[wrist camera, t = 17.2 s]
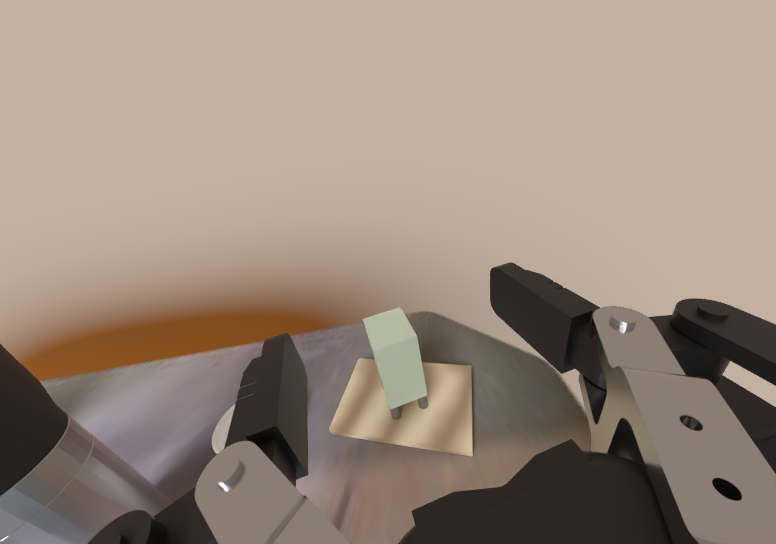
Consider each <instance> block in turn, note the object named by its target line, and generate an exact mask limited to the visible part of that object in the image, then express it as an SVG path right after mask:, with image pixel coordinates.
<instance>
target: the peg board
mask: <svg viewBox="0 0 776 544" xmlns="http://www.w3.org/2000/svg"><path fill="white" fill-rule="evenodd" d="M422 367H423V372H424V378H425V384H426V390H427V396H424V397H422V398H419V399H416V400H414V401H411V402H409V403H406V404H403V405H401V406H398V407H396V408H393V409H390V407H389V404H388V401H387V398H386V395H385V392H384V388H383V385H382V382H381V379H380V376H379V373H378V369H377V366H376V362H375V359H362V358H359V359H358V362H357V364H356V366H355V369H354V371H353V373H352V376H351V378H350V380H349V383H348V385H347V387H346V390H345V392H344V394H343V397H342V399H341V402H340V404H339V406H338V409H337V411H336V413H335V416H334V418H333V420H332V423H331V425H330V427H329V430H330V432H331V434H334V435H340V436H346V437H352V438H359V439H365V440H371V441H377V442H384V443H390V444H396V445H402V446H409V447H415V448H421V449H427V450H433V451H440V452H446V453H452V454H458V455H465V456H471V457H473V440H472V371H471V366H470V365H454V364H439V363H423V362H422Z"/></svg>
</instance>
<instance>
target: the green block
mask: <svg viewBox="0 0 776 544" xmlns="http://www.w3.org/2000/svg"><path fill="white" fill-rule="evenodd" d="M363 321H364V324H365V328H366V331H367V335H368V338H369V342H370V345H371V349H372V352H373V355H374V359H375V362H376V366H377V369H378V373H379V376H380V379H381V382H382V385H383V388H384V392H385V395H386V398H387V401H388V404H389V407H390V409H393V408H396V407H398V406H401V405H403V404H406V403H409V402H411V401H414V400H416V399H419V398H422V397H424V396H427V390H426V384H425V378H424V372H423V367H422V361H421V355H420V350H419V344H418V338H417V335H416V333H415V332H414V330H413V328H412V326H411V325H410V323H409V321H408V319H407V318H406V316H405V314H404V312H403V311H402V309H401V308H400V307H399V308H396V309H393V310H390V311H386V312H383V313H380V314H377V315H374V316H372V317H368V318H365V319H363Z"/></svg>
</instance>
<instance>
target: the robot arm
mask: <svg viewBox="0 0 776 544" xmlns="http://www.w3.org/2000/svg"><path fill="white" fill-rule="evenodd" d="M490 301H491V306H492V308H493V310H494V311H495V313H496V314H497V315H498V316H499V317H500V318H501V319H502V320H503V321H504V322H505V323H506V324H508V325H509V326H510V327H511V328H512V329H513V330H514V331H515V332H516V333H517V334H519V335H520V336H521V337H522V338H523V339H524V340H525V341H526V342H527V343H529V344H530V345H531V346H532V347H533V348H534V349H535V350H536V351H537V352H538V353H539V354H540V355H542V356H543V357H544V358H545V359H546V360H547V361H548V362H549V363H550V364H551V365H553V366H554V367H555V368H556V369H557V370H558V371H559V372H560V373H561V374H563V373H565V372H567V371H570V370H573V369H576V370H578V371H579V372H580V375H579V383H580V387H581V392H582V396H583V400H584V405H585V409H586V413H587V418H588V422H589V426H590V431H591V452H587V451H582V450H581V449H580V448H579V447H578V446H577V445H576V443H575V442H574V441H573V440H572V439H571V440H568V441H566V442H564V443H562V444H560V445H557V446H555V447H553V448H551V449H548V450H546V451H544V452H542V453H540V454H537V455H535V456H534V457H533V458H532V459H531V460H530V461H529V462H528V463H527V464H526V465H525V466H524V467H523V468H522V469H521V470H520V471H519V472H518V473H517V474H516V475H515V476H514V477H513V478H512V479H511V480H510V481H509V482H508V483H507V484H505V485H504V486H502V487H497V488H487V489H478V490H468V491H459V492H453V493H451V494H448V495H446V496H444V497H442V498H439V499H437V500H435V501H433V502H431V503H428V504H426V505H424V506H422V507H419V508H417V509H415V510H413V511H412V515H413V518H414V521H415V526H414V527H413V528H412V529H411V530H410V531H409V532H407V533H406V535H405V536H404V537H403V538H402V540H401V541H400V542H399V543H398V544H776V407H774V406H772V405H771V404H769V403H768V402H766V401H764V400H763V399H761V398H759V397H757V396H756V395H754V394H753V393H751V392H749V391H748V390H746V389H744V388H743V387H741V386H739V385H738V384H736V383H734V382H733V381H731V380H729V379H728V378H726V377H725V376H723V375H722V374H723V372H724V371H725V369H726V367H727V366H728V364H729V362H730V361H732V362H734V363H736V364H738V365H739V366H741V367H743V368H745V369H747V370H748V371H750V372H752V373H754V374H756V375H757V376H759V377H761V378H763V379H765V380H767V381H768V382H770V383H772V384H774V385H775V386H776V325H775V324H773V323H770V322H768V321H765V320H763V319H761V318H759V317H756V316H753V315H751V314H749V313H747V312H744V311H742V310H740V309H737V308H734V307H732V306H730V305H727V304H724V303H721V302H717V301H712V300H706V299H685V300H682V301H679V302H678V303H677V305H676V307H675V309H674V312H673V314H672V315H667V316H655V317H647V316H645V315H643V314H642V313H640V312H637V311H634V310H632V309H628V308H624V307H616V306H609V307H602V308H600V307H598V306H596V305H595V304H593V303H591V302H589V301H588V300H586V299H584V298H582V297H580V296H579V295H577V294H575V293H573V292H572V291H570V290H568V289H566V288H563V287H562V286H561V285H559V284H558V283H556V282H553V281H552V280H551V279H549V278H547V277H545V276H544V275H541V274H539V273H535V272H532V271H528V270H524V269H522V268H521V267H519V266H517V265H516V264H514V263H507V264H503V265H500V266H497V267H494V268H492V269H491V271H490ZM237 399H238V400H237V401H236V404H235V408H234V412H233V416H232V420H231V423H230V427H229V431H228V435H227V439H226V443H225V447H224V449H223V450H222V451H221V452H219V453H218V454H217V455H216V456H215V457H214V458H213V459H212V460H211V461H210V462H209V464H208V465H207V466H206V467H205V469H204V470H203V472H202V474H201V476H200V477H199V480H198V482H197V485H196V487H195V488H194V489H192V490H191V491H190V492H188V493H187V494H185V495H184V496H182V497H181V498H180V499H178V500H177V501H175V502H173V501H172V500H170V499H169V498H168V497H167V496H166V495H164V494H163V493H162V492H161V491H160V490H158V489H157V488H156V487H155V486H154V485H153V484H152V483H150V482H149V481H148V480H147V479H146V478H144V477H143V476H142V475H141V474H139V473H138V472H137V471H136V470H135V469H133V468H132V467H131V466H130V465H129V464H127V463H126V462H125V461H124V460H122V459H121V458H120V457H119V456H118V455H116V454H115V453H114V452H113V451H111V450H110V449H109V448H108V447H107V446H105V445H104V444H103V443H102V442H101V441H99V440H98V439H97V438H96V437H94V436H93V435H92V434H90V433H89V432H88V431H87V430H86V429H84V428H83V427H82V426H81V425H79V424H78V423H77V422H76V421H75V420H73V419H72V418H71V417H70V416H69V415H67V414H66V413H65V412H64V411H62V410H61V409H60V408H59V407H58V406H57V405H56V404H55V403H54V402H53V400H52V399H51V397H50V396H49V394H48V393H47V391H46V390H45V388H44V387H43V386H42V384H41V383H40V382H39V381H38V380H37V379H36V378H35V377H34V376H33V375H32V374H31V373H30V372H29V371H28V370H27V369H26V368H25V367H24V366H23V365H21V364H20V363H19V362H18V361H17V360H16V359H15V358H14V357H13V356H12V355H11V354H10V353H9V352H8V351H7V350H6V349H5V348H4V347H3V346H2V345H1V344H0V544H350V542H349V541H348V540H347V539H346V538H345V537H344V536H343V535H342V534H341V533H340V532H339V531H338V530H337V528H336V527H335V526H334V525H333V524H332V523H331V522H330V521H329V520H328V519H327V518H326V517H325V516H324V514H323V513H322V512H321V511H320V510H319V509H318V508H317V507H316V506H315V505H314V504H313V503H312V502H311V501H310V500H309V499H308V498H307V497H306V496H303V495H302V494H301V493H300V492H299V491H298V490H297V489H296V480H297V479H299V478H302V477H304V476H306V475H308V430H307V377H306V372H305V368H304V365H303V362H302V360H301V358H300V356H299V354H298V352H297V350H296V348H295V345H294V343H293V341H292V339H291V337H290V335H289V334H288V333H285V334H282V335H279V336H276V337H273V338H270V339H266V340H265V341H264V345H263V350H262V355H261V357H258V358H255V359H253V360H252V361H251V363H250V364H249V365H248V367H247V368H246V370H245V371H244V373H243V377H242V381H241V384H240V389H239V392H238V396H237Z"/></svg>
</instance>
